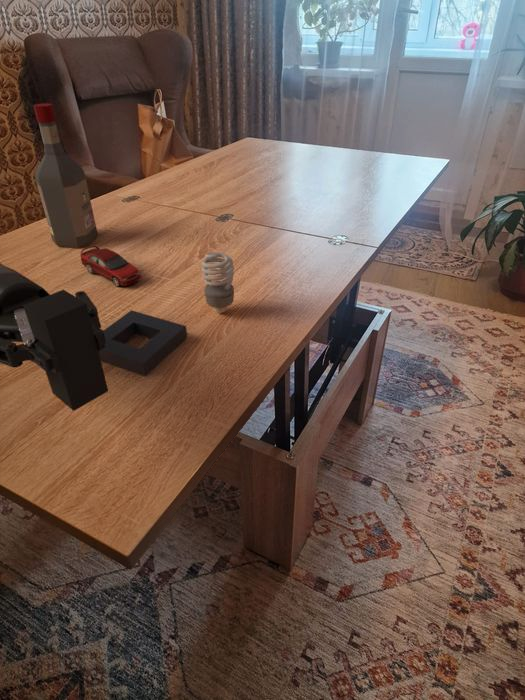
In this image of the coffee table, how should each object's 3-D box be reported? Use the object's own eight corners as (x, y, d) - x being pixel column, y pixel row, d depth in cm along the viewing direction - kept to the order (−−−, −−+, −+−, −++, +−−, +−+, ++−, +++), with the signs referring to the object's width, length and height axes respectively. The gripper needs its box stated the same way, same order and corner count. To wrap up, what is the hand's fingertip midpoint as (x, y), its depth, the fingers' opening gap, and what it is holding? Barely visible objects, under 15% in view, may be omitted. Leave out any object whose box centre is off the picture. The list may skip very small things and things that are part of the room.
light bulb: (200, 316, 89) (194, 257, 82) (214, 302, 93) (209, 244, 86) (227, 323, 87) (224, 262, 80) (240, 308, 91) (238, 249, 84)
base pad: (145, 376, 75) (142, 363, 73) (87, 356, 79) (84, 344, 78) (187, 337, 83) (186, 325, 82) (133, 321, 88) (131, 310, 86)
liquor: (101, 234, 121) (73, 101, 103) (86, 249, 114) (52, 109, 96) (67, 232, 122) (33, 100, 104) (49, 247, 114) (10, 108, 97)
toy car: (103, 261, 108) (99, 240, 105) (143, 282, 100) (139, 260, 97) (81, 269, 105) (76, 248, 102) (120, 292, 97) (116, 269, 94)
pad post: (73, 411, 54) (45, 321, 47) (52, 393, 57) (22, 305, 50) (108, 391, 57) (86, 303, 50) (87, 375, 59) (63, 289, 52)
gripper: (-67, 295, 54) (2, 354, 45) (51, 254, 63) (130, 297, 53) (-42, 349, 58) (25, 414, 49) (65, 304, 67) (140, 352, 58)
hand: (79, 353), depth 51 cm, fingers closed on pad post, 4 cm apart
